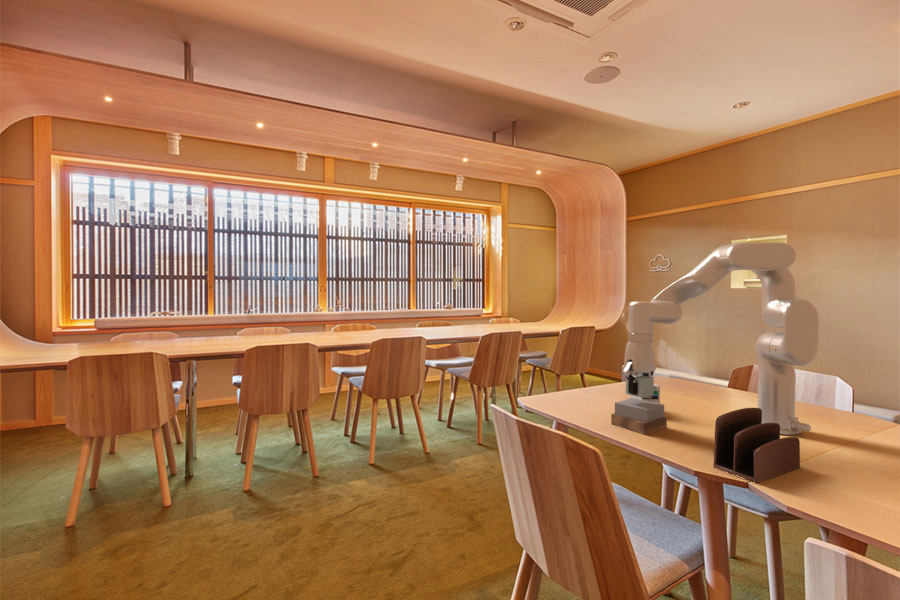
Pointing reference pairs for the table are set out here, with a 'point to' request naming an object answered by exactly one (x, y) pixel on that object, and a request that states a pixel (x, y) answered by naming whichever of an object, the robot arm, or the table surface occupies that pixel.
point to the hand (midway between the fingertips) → (639, 392)
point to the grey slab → (639, 410)
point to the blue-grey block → (643, 386)
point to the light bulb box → (653, 398)
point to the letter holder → (753, 446)
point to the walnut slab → (639, 424)
